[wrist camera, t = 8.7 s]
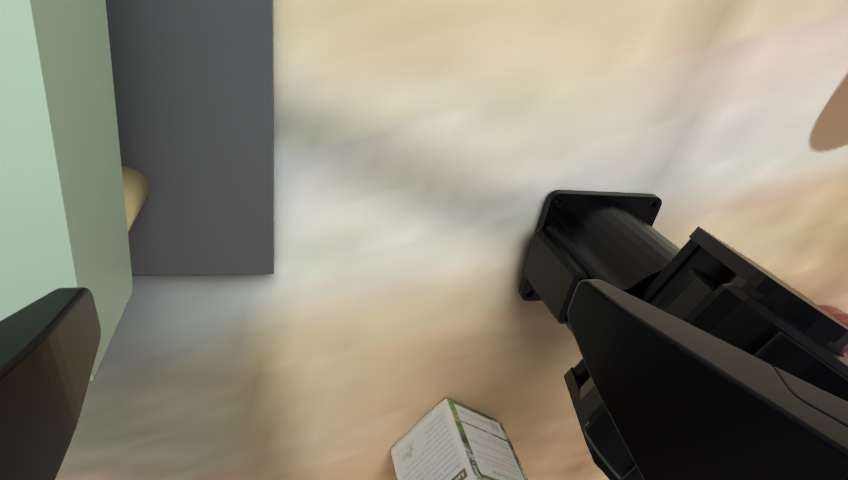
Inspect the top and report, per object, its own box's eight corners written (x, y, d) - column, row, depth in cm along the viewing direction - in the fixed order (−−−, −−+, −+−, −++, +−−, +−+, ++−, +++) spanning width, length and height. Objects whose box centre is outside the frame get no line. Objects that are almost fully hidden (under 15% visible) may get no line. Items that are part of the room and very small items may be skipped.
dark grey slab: (272, -296, 13) (265, -392, 9) (274, 261, 22) (271, 327, 18) (-513, -539, 9) (-1087, -884, 5) (-119, 263, 18) (-226, 347, 14)
